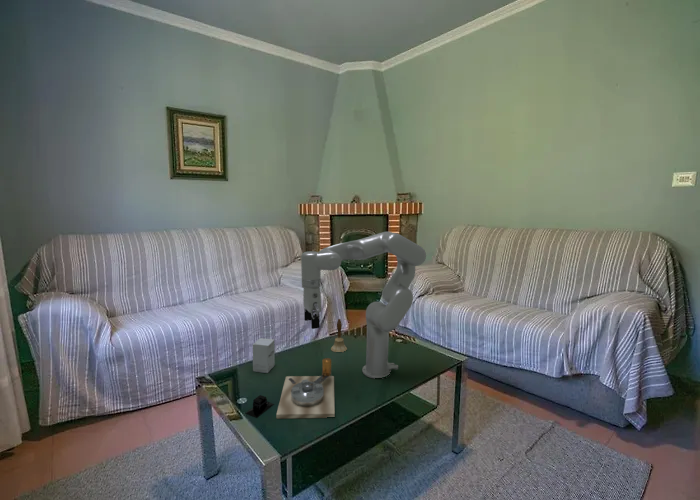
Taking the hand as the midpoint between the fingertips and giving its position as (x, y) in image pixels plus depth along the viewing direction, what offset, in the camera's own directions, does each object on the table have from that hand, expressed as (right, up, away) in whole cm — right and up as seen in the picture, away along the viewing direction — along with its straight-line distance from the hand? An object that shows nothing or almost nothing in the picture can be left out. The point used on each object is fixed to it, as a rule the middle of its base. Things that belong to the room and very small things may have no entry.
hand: (311, 324), depth 138 cm
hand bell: (+10, -21, +36) cm, 43 cm away
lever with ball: (+2, -25, -6) cm, 25 cm away
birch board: (-1, -26, -7) cm, 27 cm away
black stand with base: (-17, -28, -15) cm, 36 cm away
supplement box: (-23, -23, +15) cm, 36 cm away
